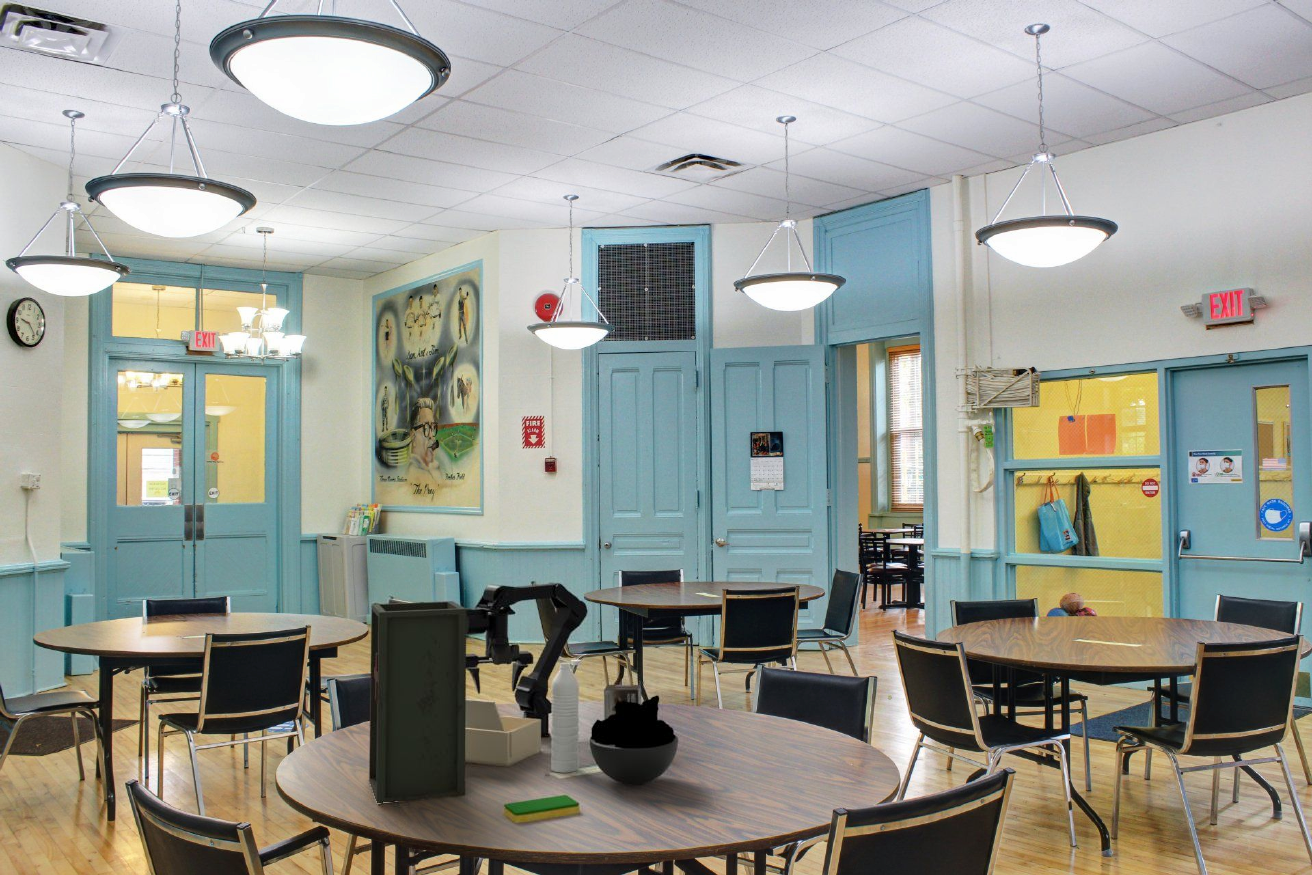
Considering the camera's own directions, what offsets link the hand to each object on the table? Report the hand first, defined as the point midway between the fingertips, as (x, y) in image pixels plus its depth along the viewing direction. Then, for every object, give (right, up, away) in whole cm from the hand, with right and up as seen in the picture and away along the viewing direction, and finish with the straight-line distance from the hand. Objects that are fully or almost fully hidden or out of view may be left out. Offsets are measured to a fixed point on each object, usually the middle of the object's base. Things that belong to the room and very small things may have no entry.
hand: (496, 692), depth 268 cm
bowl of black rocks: (+37, -11, -40) cm, 55 cm away
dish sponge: (+19, -10, -61) cm, 65 cm away
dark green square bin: (-11, -11, -43) cm, 46 cm away
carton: (+1, -12, -14) cm, 18 cm away
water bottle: (+21, -12, -27) cm, 36 cm away
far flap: (-4, +1, -23) cm, 23 cm away
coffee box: (+34, -13, -10) cm, 37 cm away
